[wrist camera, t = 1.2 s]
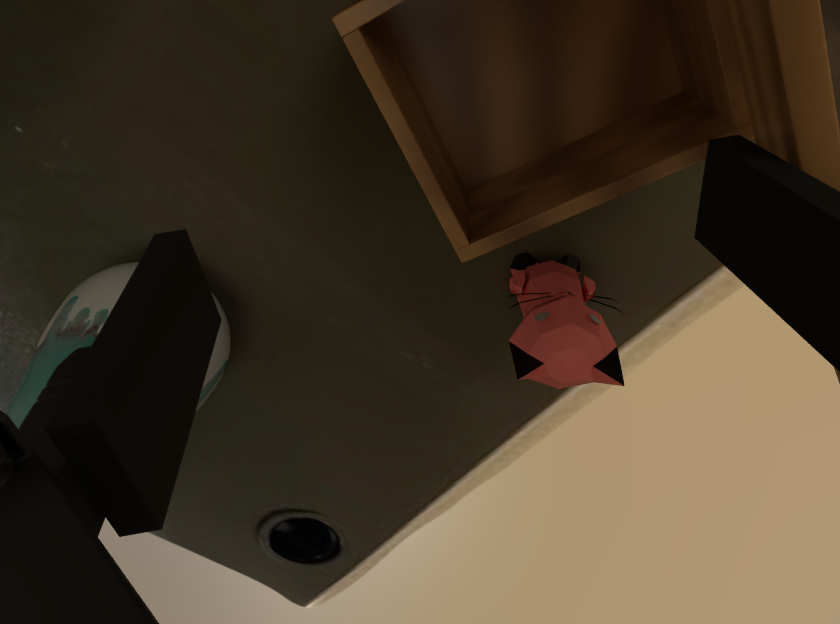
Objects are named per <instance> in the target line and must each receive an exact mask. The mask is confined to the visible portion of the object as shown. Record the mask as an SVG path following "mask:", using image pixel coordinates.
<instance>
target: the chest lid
mask: <svg viewBox="0 0 840 624" xmlns="http://www.w3.org/2000/svg"><path fill="white" fill-rule="evenodd" d="M723 2H724V6H725V10H726V15H727V19H728V24H729V28H730V33H731V37H732V42H733V46H734V51H735V55H736V59H737V64H738V68H739V73H740V77H741V82H742V86H743V91H744V95H745V100H746V104H747V108H748V113H749V117H750V122H751V126H752V131H753V135H754V140H755V143H756V145H758V146H760V147H762V148H763V149H765V150H767V151H769V152H771V153H772V154H774V155H776V156H778V157H779V158H781V159H783V160H785V161H787V162H788V163H790V164H792V165H794V166H795V167H797V168H799V169H801V170H802V171H804V172H806V173H808V174H810V175H811V176H813V177H815V178H817V179H818V180H820V181H822V182H824V183H825V184H827V185H829V186H831V187H833V188H834V189H836V190H838V191H840V132H839V125H838V118H837V112H836V105H835V98H834V92H833V85H832V78H831V72H830V65H829V58H828V52H827V45H826V38H825V32H824V25H823V18H822V12H821V5H820V0H723ZM834 369H835V372H836V374H837V377H838V380H839V383H840V372H839V371H838V370H837V369H836V368H835V367H834Z"/></svg>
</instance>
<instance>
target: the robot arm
mask: <svg viewBox="0 0 840 624" xmlns="http://www.w3.org/2000/svg"><path fill="white" fill-rule="evenodd" d="M695 239H697V240H698V241H699V242H700V243H701V244H702V245H703V246H704V247H705V248H706V249H707V250H708V251H710V252H711V253H712V254H713V255H714V256H715V257H716V258H717V259H718V260H719V261H720V262H721V263H722V264H724V265H725V266H726V267H727V268H728V269H729V270H730V271H731V272H732V273H733V274H734V275H735V276H737V277H738V278H739V279H740V280H741V281H742V282H743V283H744V284H745V285H746V286H747V287H748V288H749V289H751V290H752V291H753V292H754V293H755V294H756V295H757V296H758V297H759V298H760V299H761V300H762V301H764V302H765V303H766V304H767V305H768V306H769V307H770V308H771V309H772V310H773V311H774V312H776V314H778V315H779V316H780V317H781V318H782V319H783V320H784V321H785V322H786V323H787V324H788V325H790V326H791V327H792V328H793V329H794V330H795V331H796V332H797V333H798V334H799V335H800V336H801V337H803V339H805V340H806V341H807V342H808V343H809V344H810V345H811V346H812V347H813V348H814V349H815V350H816V351H818V352H819V353H820V354H821V355H822V356H823V357H824V358H825V359H826V360H827V361H828V362H829V363H831V364H832V365H833V366H834V367H835V368H836V369H837V370H838V371H839V372H840V191H838V190H836V189H834V188H833V187H831V186H829V185H827V184H825V183H824V182H822V181H820V180H818V179H817V178H815V177H813V176H811V175H810V174H808V173H806V172H804V171H802V170H801V169H799V168H797V167H795V166H794V165H792V164H790V163H788V162H787V161H785V160H783V159H781V158H779V157H778V156H776V155H774V154H772V153H771V152H769V151H767V150H765V149H763V148H762V147H760V146H758V145H756V144H755V143H753V142H751V141H749V140H748V139H746V138H744V137H742V136H740V135H734V136H728V137H722V138H716V139H710V140H709V142H708V149H707V156H706V162H705V169H704V176H703V183H702V190H701V197H700V204H699V210H698V217H697V224H696V231H695ZM221 321H222V319H221V316H220V314H219V311H218V309H217V306H216V304H215V301H214V299H213V296H212V294H211V291H210V289H209V286H208V284H207V281H206V279H205V276H204V274H203V271H202V269H201V266H200V264H199V261H198V259H197V256H196V254H195V251H194V249H193V246H192V244H191V241H190V239H189V236H188V234H187V231H186V229H184V230H178V231H172V232H166V233H161V234H155V235H154V237H153V238H152V240H151V242H150V244H149V246H148V247H147V249H146V251H145V253H144V254H143V256H142V258H141V260H140V261H139V263H138V265H137V267H136V268H135V270H134V272H133V274H132V275H131V277H130V279H129V281H128V283H127V284H126V286H125V288H124V290H123V291H122V293H121V295H120V297H119V298H118V300H117V302H116V304H115V305H114V307H113V309H112V311H111V312H110V314H109V316H108V318H107V320H106V321H105V323H104V325H103V327H102V328H101V330H100V332H99V334H98V335H97V337H96V339H95V341H94V342H93V344H92V346H88V347H83V348H77V349H76V350H75V351H74V352H72V353H71V354H70V355H69V356H68V357H67V358H66V359H65V360H63V361H62V362H61V363H60V364H59V365H58V366H57V367H56V369H55V370H54V372H53V374H52V375H51V377H50V378H49V380H48V382H47V383H46V387H45V388H43V390H42V391H41V393H40V395H39V396H38V398H37V403H34V404H33V406H32V408H31V409H30V411H29V412H28V414H27V416H26V417H25V419H24V420H23V422H22V424H21V425H20V427H19V429H18V428H17V427H16V425H15V424H14V423H13V421H12V420H11V418H10V417H9V416H8V415H7V414H5V413H3V412H2V411H0V624H159V623H158V622H157V620H156V619H155V617H154V616H153V614H152V613H151V611H150V610H149V609H148V607H147V606H146V605H145V603H144V602H143V600H142V599H141V597H140V596H139V595H138V593H137V592H136V591H135V589H134V588H133V586H132V585H131V583H130V582H129V581H128V579H127V578H126V576H125V575H124V573H123V572H122V571H121V569H120V568H119V566H118V565H117V564H116V563H115V561H114V559H113V558H112V557H111V555H110V554H109V552H108V551H107V550H106V548H105V547H104V545H103V544H102V543H101V541H100V540H99V539H98V535H99V532H100V530H101V527H102V525H103V522H104V519H105V517H106V518H107V520H108V521H109V522H110V524H111V525H112V527H113V528H114V530H115V531H116V533H117V534H118V536H119V537H122V536H127V535H133V534H138V533H144V532H150V531H155V530H161V529H162V527H163V523H164V520H165V516H166V513H167V509H168V506H169V503H170V499H171V496H172V492H173V489H174V485H175V482H176V478H177V475H178V471H179V468H180V464H181V461H182V457H183V454H184V450H185V447H186V443H187V440H188V436H189V433H190V429H191V426H192V422H193V419H194V415H195V412H196V408H197V405H198V401H199V398H200V394H201V391H202V387H203V384H204V380H205V377H206V373H207V370H208V366H209V363H210V359H211V356H212V352H213V349H214V345H215V342H216V338H217V335H218V331H219V328H220V324H221Z"/></svg>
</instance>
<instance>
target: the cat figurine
mask: <svg viewBox="0 0 840 624" xmlns="http://www.w3.org/2000/svg"><path fill="white" fill-rule="evenodd" d="M510 270H511V273H512V275H513V277H511V278H510V285H509V288H510V290H511V292H512V294H515V295H517V296H518V302H519V303H517V304H515V305H518V304H519V305H520V308H521V311H522V314H523V317H524V319H523V321H522V322H521V323H520V325H519V326H518V328H517V329H516V330H515V332H514V333H513V335H512V336H511V338H510V339H509V344H510V348H511V352H512V357H513V361H514V365H515V370H516V374H517V379H518V380H522V379H531V380H534V381H537V382H540V383H543V384H546V385H549V386H552V387H555V388H558V389H561V388H566V387H571V386H576V385H582V384H587V383H592V382H597V383H605V384H612V385H620V386H624V380H623V375H622V370H621V365H620V360H619V354H618V349H617V345H616V344H615V342H614V340H613V338H612V336H611V334H610V332H609V330H608V328H607V327H606V325H605V323H604V321H603V319H602V317H601V315H600V314H599V313H597V312H596V311H594V310H592V309H590V308H589V307H587V306H585V301H587V300H591V301H594V302H597V303H600V304H603V305H606V306H609V305H607V304H604V303H601V302H598V301H595V300H592V298H594V297H598V296H593V291H594V290H595V288H596V286H595V282H594V281H592V280H591V279H589V278H588V277H586V276H585V277H584V281H583V286H582V288H581V284H580V281H579V278H578V275H579V273H580V272H581V269H580V263H579V258H576V257H573V256H571V255H567V256H565V257H563V258H561V259H560V260H558V261H556V262H555V261H553V260H552V261H548V262H544V263H540V264H538V261H537V260H536V259H535V258H533V257H532V256H531V255H530V254H529V253H524V254H520V255H516V256H515V258H514V260H513V262H512V264H511V266H510ZM515 295H512V296H515ZM509 297H510V296H509ZM598 298H605V297H598ZM605 299H611V298H605ZM611 300H613V299H611ZM614 301H615V300H614ZM616 302H617V301H616ZM618 303H619V302H618ZM515 305H513V306H515ZM513 306H512V307H513ZM609 307H612V306H609ZM510 308H511V307H510ZM612 308H615V307H612ZM615 309H617V308H615ZM617 310H618V309H617ZM618 311H619V310H618ZM620 312H621V311H620ZM623 314H624V313H623Z"/></svg>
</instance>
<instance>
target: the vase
mask: <svg viewBox="0 0 840 624" xmlns="http://www.w3.org/2000/svg"><path fill="white" fill-rule="evenodd" d="M138 263H139V262H130V263H124V264H119V265H116V266H112V267H109V268H106V269H104V270H102V271H100V272H98V273H96V274H94V275H93V276H91V277H89V278H88V279H86V280H85V281H83V282H82V283H81V284H80V285H79V286H77V287H76V288H75V289H74V290H73V291H72V292H71V293H70V294H69V296H68V297H67V298H66V299H65V300H64V302H63V303H62V304H61V306H60V307H59V308H58V310H57V311H56V313H55V314H54V316H53V317H52V319H51V321H50V322H49V324H48V326H47V327H46V329H45V331H44V332H43V334H42V336H41V338H40V340H39V342H38V345H37V347H36V349H35V351H34V354H33V356H32V359H31V361H30V364H29V366H28V369H27V371H26V374H25V376H24V378H23V380H22V382H21V384H20V386H19V388H18V390H17V392H16V393H15V395H14V397H13V399H12V400H11V402H10V404H9V406H8V408H7V410H6V412H5V414H7V415H8V416H9V417H10V418H11V420H12V421H13V423H14V424H15V425H16V427H17V428H18V429H19V427H20V425H21V424H22V422H23V420H24V419H25V417H26V416H27V414H28V412H29V411H30V409H31V408H32V406H33V404H34V403H37V398H38V396H39V395H40V393H41V391H42V390H43V388H45V387H46V383H47V382H48V380H49V378H50V377H51V375H52V374H53V372H54V370H55V369H56V367H57V366H58V365H59V364H60V363H61V362H62V361H63V360H65V359H66V358H67V357H68V356H69V355H70V354H71V353H72V352H74V351H75V350H76V349H77V348H83V347H88V346H92V344H93V342H94V341H95V339H96V337H97V335H98V334H99V332H100V330H101V328H102V327H103V325H104V323H105V321H106V320H107V318H108V316H109V314H110V312H111V311H112V309H113V307H114V305H115V304H116V302H117V300H118V298H119V297H120V295H121V293H122V291H123V290H124V288H125V286H126V284H127V283H128V281H129V279H130V277H131V275H132V274H133V272H134V270H135V268H136V267H137V265H138ZM211 294H212V296H213V299H214V301H215V304H216V306H217V309H218V311H219V314H220V316H221V319H222V321H221V324H220V328H219V331H218V335H217V338H216V342H215V345H214V349H213V352H212V356H211V359H210V363H209V366H208V370H207V373H206V377H205V380H204V384H203V387H202V391H201V394H200V398H199V401H198V405H197V408H196V412H197V411H198V410H199V409H200V408H201V407H202V406H203V404H204V403H205V402H206V401H207V400H208V398H209V397H210V396H211V394H212V393H213V392H214V390H215V389H216V387H217V386H218V384H219V383H220V381H221V379H222V377H223V375H224V373H225V370H226V368H227V364H228V361H229V357H230V351H231V332H230V326H229V323H228V320H227V317H226V314H225V312H224V310H223V308H222V306H221V304H220V302H219V301H218V299H217V298H216V297H215V295H214V294H213V293H212V292H211ZM196 412H195V413H196Z"/></svg>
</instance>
